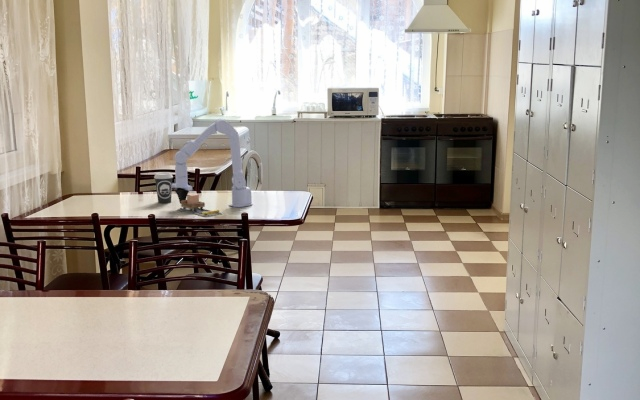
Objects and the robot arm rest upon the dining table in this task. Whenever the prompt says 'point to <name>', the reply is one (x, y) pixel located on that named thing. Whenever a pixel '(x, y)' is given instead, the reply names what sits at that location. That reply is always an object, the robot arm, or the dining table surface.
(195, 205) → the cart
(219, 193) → the dining table surface
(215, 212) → the rail
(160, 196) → the coffee cup
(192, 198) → the block
